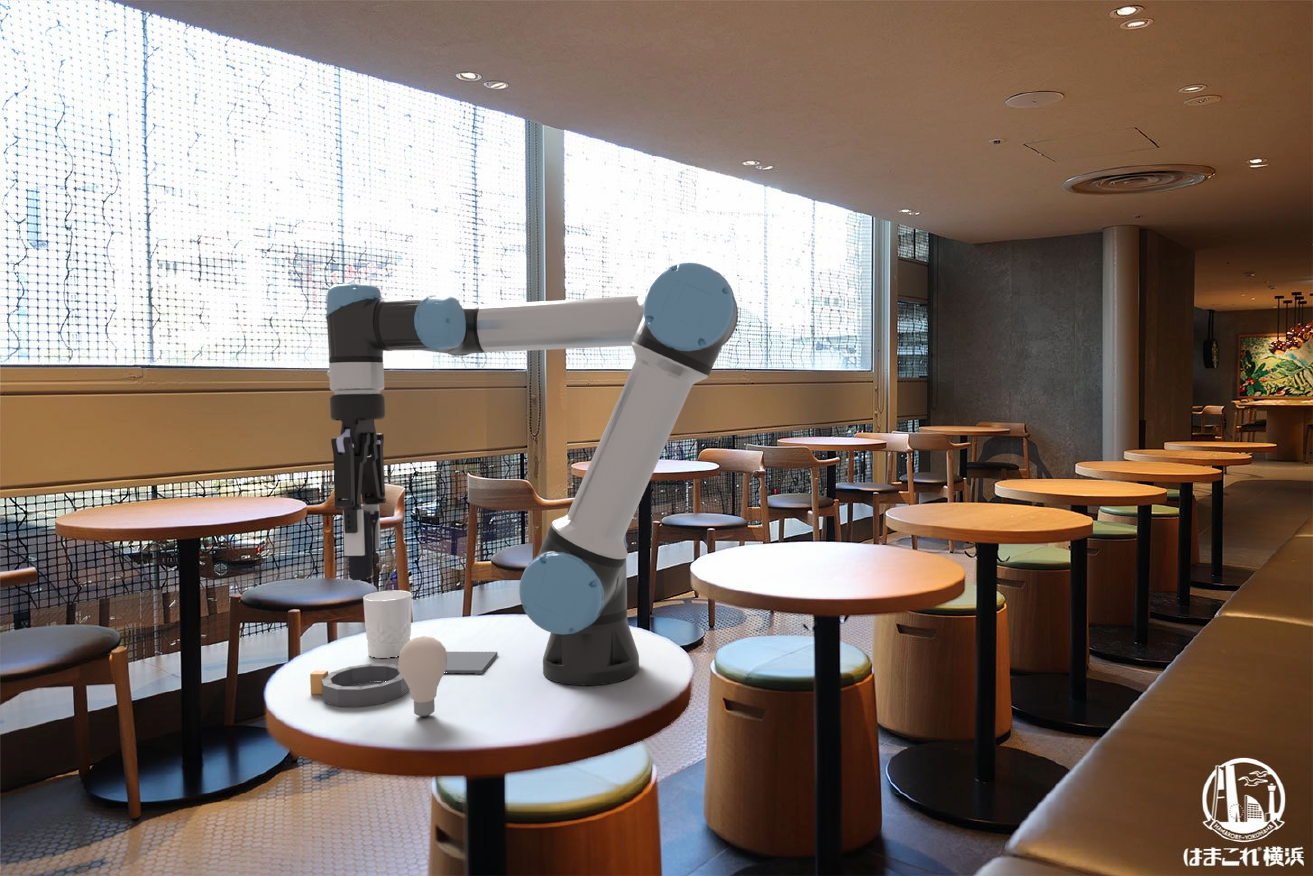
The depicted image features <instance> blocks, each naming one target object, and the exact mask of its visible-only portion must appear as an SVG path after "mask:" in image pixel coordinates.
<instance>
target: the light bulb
mask: <svg viewBox="0 0 1313 876" xmlns="http://www.w3.org/2000/svg"><path fill="white" fill-rule="evenodd" d="M446 652H447V650H446V647H445V646H444V645H443V643H442V642H441V641H439V639H436V638H435V637H432V636H427V635H423V636H418V637H415V638H412V639H410V641H409V642H408V643H406V644H405V645H404V647H403V648H402V650H401V651H400V655H399V657H398V662H397V665H398V666H399V670H400V674H401V675H402V677H403V678H404V680H405V682H406V683H407V685H408V687H409V691H410V697H411V699H412V701H413V713H414V715H417V716H419V717H421V718H427V717H428V716H430V715H432V714H433V713H434V712H435V709H436V708H435V698H436V697H437V693H438V692H437V691H438V687H439V685H440V682H441V680H442V678H443V676H444V675H445V674H444V672H445V670H446V666H447V661H448V659H447V654H446Z"/></svg>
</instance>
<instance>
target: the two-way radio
mask: <svg viewBox="0 0 1313 876" xmlns="http://www.w3.org/2000/svg"><path fill="white" fill-rule="evenodd" d="M361 505H362V501H361V502H360V509H359V510H363V515H364V543H365V555H363V556H347V561H348V562H347V567H348V568H347V572H348V577H349V579H350V580H352V581H361V580H362V581H365V580H367V578H370V577H372V576H373V566H374V562H373V561H374V559H373V556H374V555H375V554H376V548H375V530H376V524H377V521H378V519H379V511H380V510H379V511H374V514H370V512H369V511H366V510H364V509H362V508H361ZM371 522H372V525H371ZM372 527H373V548H372Z"/></svg>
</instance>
